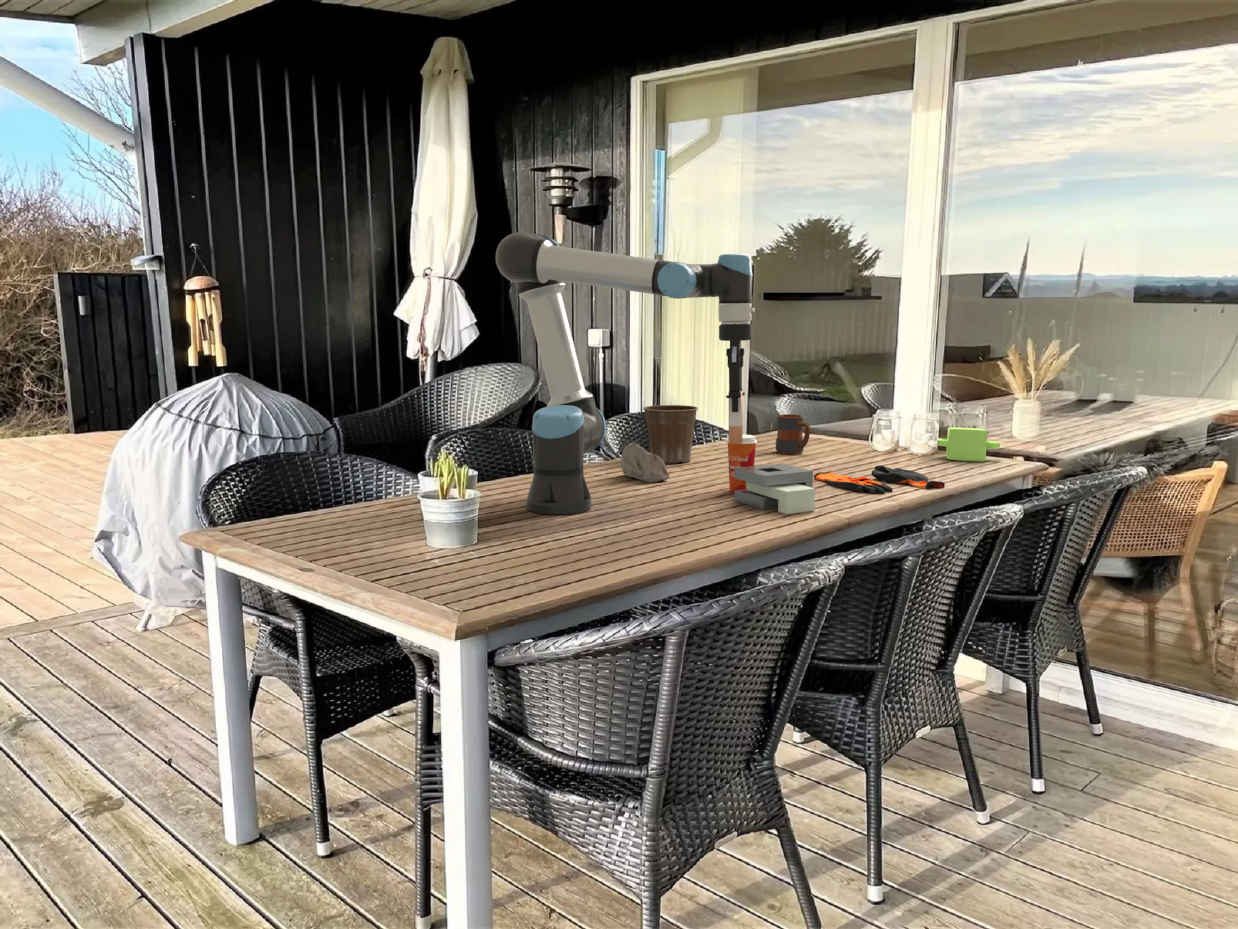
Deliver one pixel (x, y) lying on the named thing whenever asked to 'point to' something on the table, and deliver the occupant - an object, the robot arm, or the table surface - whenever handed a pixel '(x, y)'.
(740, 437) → the pin
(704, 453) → the table surface
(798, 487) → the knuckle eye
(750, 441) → the paper cup
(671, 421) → the plant pot
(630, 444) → the pumice stone
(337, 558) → the table surface
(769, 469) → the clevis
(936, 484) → the pair of gloves
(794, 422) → the mug
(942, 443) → the gearbox
